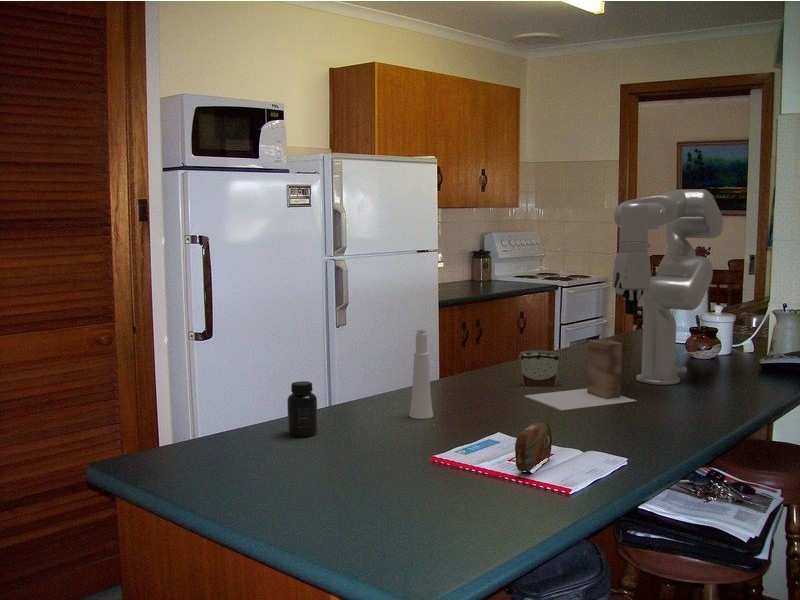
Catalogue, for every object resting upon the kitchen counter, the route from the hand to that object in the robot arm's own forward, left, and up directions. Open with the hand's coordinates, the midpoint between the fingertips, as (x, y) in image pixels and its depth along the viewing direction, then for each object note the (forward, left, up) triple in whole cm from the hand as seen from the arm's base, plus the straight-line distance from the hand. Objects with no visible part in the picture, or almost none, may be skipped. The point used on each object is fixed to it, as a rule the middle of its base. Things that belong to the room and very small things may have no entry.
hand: (631, 314), depth 227 cm
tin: (+61, +44, -23) cm, 78 cm away
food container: (+17, -20, -23) cm, 35 cm away
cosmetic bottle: (+64, -2, -23) cm, 68 cm away
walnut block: (+9, 0, -22) cm, 24 cm away
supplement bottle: (+96, +1, -23) cm, 98 cm away
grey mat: (+17, 0, -23) cm, 28 cm away
